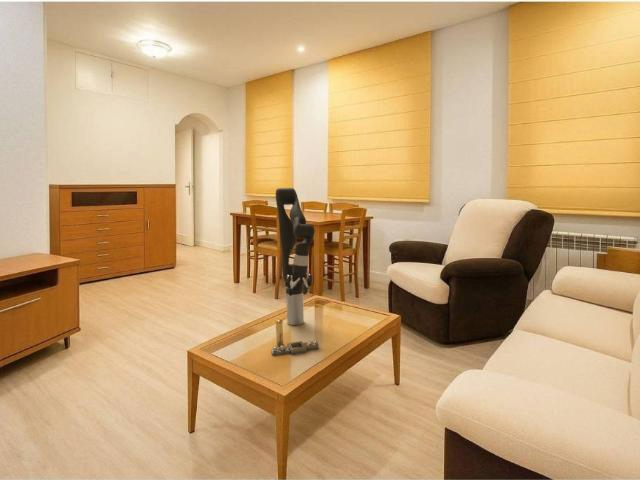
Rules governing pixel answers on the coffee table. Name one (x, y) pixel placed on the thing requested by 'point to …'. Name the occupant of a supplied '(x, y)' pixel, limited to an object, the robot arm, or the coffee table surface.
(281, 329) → the pin
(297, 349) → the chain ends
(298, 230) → the robot arm
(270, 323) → the coffee table surface
